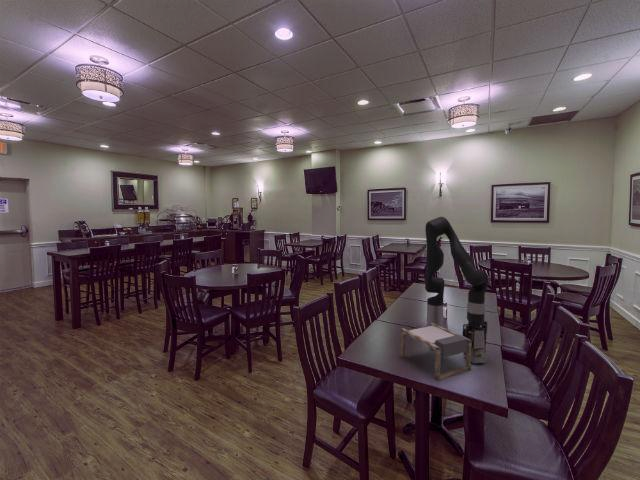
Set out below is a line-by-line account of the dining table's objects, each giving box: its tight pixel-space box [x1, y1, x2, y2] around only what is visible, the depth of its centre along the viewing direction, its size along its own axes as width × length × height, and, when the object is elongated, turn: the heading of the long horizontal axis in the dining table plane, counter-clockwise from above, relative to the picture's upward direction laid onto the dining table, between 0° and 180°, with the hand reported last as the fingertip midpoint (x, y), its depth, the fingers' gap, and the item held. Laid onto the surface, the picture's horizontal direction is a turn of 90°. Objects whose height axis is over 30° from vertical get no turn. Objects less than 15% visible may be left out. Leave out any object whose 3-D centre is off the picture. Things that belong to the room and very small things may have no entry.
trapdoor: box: [408, 326, 467, 359], centre depth 144 cm, size 22×16×6 cm
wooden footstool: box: [400, 323, 472, 381], centre depth 146 cm, size 24×20×14 cm
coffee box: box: [462, 323, 487, 364], centre depth 148 cm, size 9×6×16 cm
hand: (474, 343), depth 148 cm, fingers closed on coffee box, 7 cm apart
